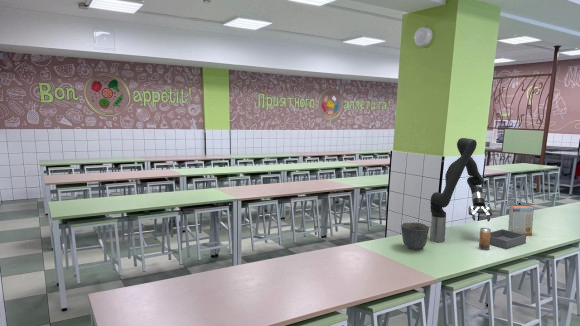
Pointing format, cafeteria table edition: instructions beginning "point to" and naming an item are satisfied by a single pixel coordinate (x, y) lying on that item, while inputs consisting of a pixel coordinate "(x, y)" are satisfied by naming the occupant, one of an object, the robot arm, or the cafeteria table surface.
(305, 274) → the cafeteria table surface
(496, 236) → the gray tray
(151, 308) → the cafeteria table surface
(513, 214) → the cracker box
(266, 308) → the cafeteria table surface
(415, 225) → the dark grey plant pot
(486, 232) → the tin can
